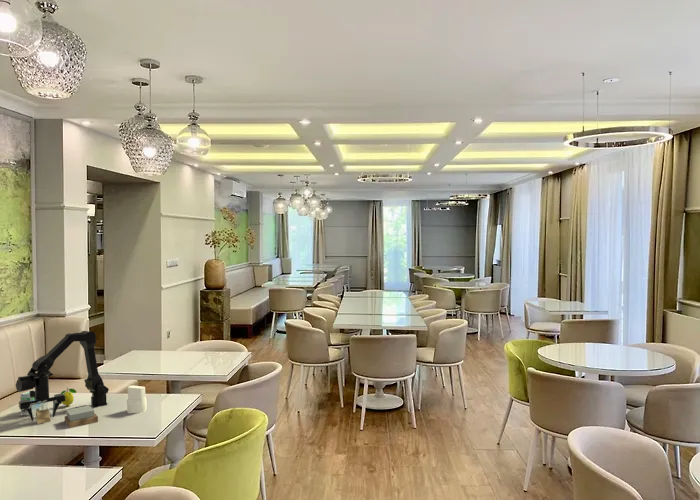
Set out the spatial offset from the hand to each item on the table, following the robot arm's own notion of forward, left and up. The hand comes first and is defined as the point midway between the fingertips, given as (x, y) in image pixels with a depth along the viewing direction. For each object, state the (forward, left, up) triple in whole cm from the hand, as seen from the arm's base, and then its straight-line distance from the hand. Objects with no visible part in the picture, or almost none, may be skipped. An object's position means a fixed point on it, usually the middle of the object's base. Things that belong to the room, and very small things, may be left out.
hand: (43, 419), depth 247 cm
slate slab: (-14, +13, +1) cm, 19 cm away
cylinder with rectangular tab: (-39, +15, -1) cm, 42 cm away
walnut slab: (-14, +13, -2) cm, 19 cm away
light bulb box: (+1, -19, -1) cm, 19 cm away
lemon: (-14, -18, -1) cm, 23 cm away
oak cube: (0, 0, -1) cm, 1 cm away
